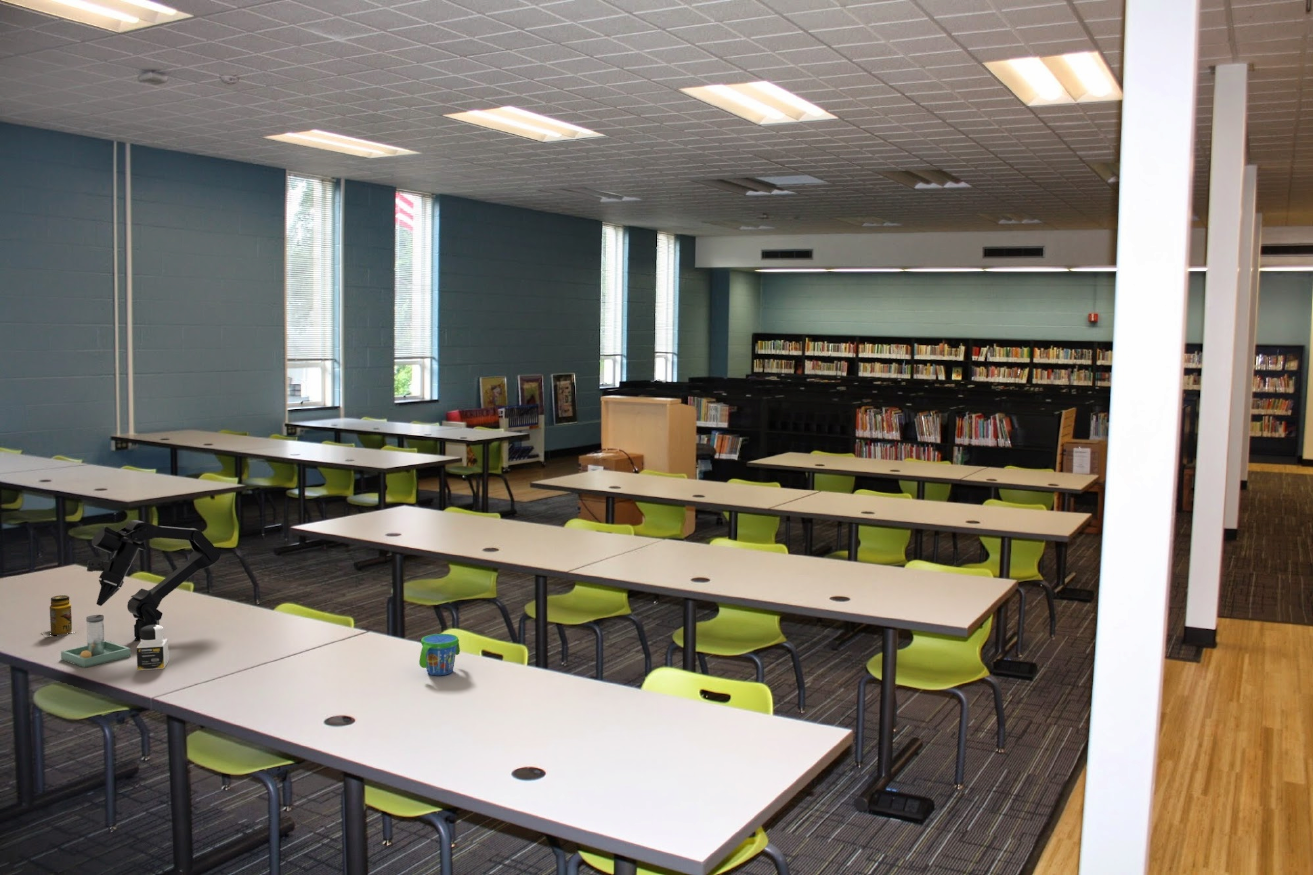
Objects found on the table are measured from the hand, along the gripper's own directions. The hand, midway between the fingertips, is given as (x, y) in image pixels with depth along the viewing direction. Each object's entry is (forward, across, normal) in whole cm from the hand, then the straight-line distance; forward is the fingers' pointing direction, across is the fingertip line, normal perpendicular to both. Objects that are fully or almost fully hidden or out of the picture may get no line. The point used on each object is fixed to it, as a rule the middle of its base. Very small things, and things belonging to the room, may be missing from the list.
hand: (98, 605), depth 315 cm
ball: (+15, +10, +4) cm, 18 cm away
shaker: (+14, +7, +6) cm, 17 cm away
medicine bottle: (+11, +22, +22) cm, 33 cm away
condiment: (+12, -27, -8) cm, 31 cm away
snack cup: (-13, +61, +93) cm, 112 cm away
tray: (+14, +6, +6) cm, 17 cm away
